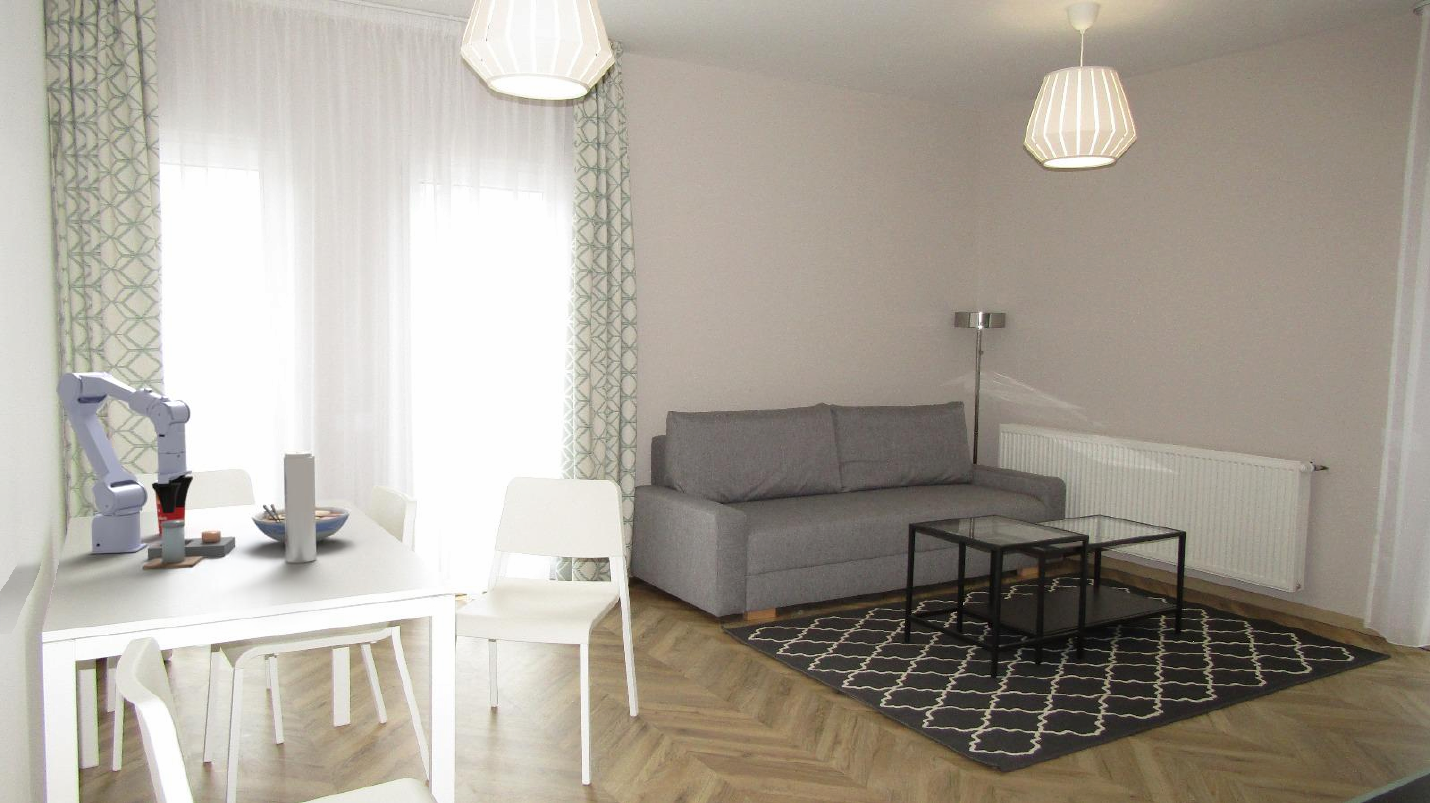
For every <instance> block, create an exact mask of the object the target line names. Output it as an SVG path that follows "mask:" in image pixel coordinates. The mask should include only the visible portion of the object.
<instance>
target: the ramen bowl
mask: <svg viewBox="0 0 1430 803" xmlns="http://www.w3.org/2000/svg"><path fill="white" fill-rule="evenodd" d="M262 507H263V509H264V511H262V512H257V513H255V514H253V515H252V516H251V519H252V522H253V523H254V525H255V526H256V527H257V528H258V529H259V530H260V532H261V533H262V534H264V535H265V536H267V537H268V538H270V539H272V540H274V541H279V542H281V543H285V507H280V508H275V507H276V506H275V505H274V504H270V508H271V509H269V507H268V506H267V505H266V504H263V505H262ZM351 512H352V509H350V508H346V507H341V506H332V505H315V517H316V544H317V543H319V542H321V540H324V539H326V538H329V537H331V536H332V535H335V534H336V533H337V532H339V531H340V530H341V529H342V527H343V526H344V525H345V523H346V522H347V520H348V518H349V516H350V514H351Z"/></svg>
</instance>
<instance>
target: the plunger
mask: <svg viewBox="0 0 1430 803" xmlns="http://www.w3.org/2000/svg"><path fill="white" fill-rule="evenodd" d="M221 535H222V532H221V530H207V531H206V530H205V531H203V532H201V538H202V542H216V541H220V540H221V537H222V536H221Z"/></svg>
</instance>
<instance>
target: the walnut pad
mask: <svg viewBox="0 0 1430 803" xmlns="http://www.w3.org/2000/svg"><path fill="white" fill-rule="evenodd" d="M203 560H204V557H203V556H197V557H185V561H183V562H178V563H163V562H162V558H154V559H150V561H148V562H147V563H146V564H144V565H142V570H153V569H155V570H156V569H175V568H176V569H177V568H179V569H180V568H194V566H196V565H198V563H200V562H201V561H203Z"/></svg>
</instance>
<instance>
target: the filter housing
mask: <svg viewBox="0 0 1430 803" xmlns="http://www.w3.org/2000/svg"><path fill="white" fill-rule="evenodd" d="M235 548H236V536H223V537H222V536H221V540H220V541H216V542H202V537H199V538H197V537H196V538H194V537H193V538H185V557H197V556H203V558H208V557H209V558H210V557H211V558H213V557H225V556H226V555H228V554H229V553H230V552H231V551H232V550H234V549H235ZM154 558H162V539H161V540H159V541H157V542H156V543H154V544H152V545H151V546H149V547H148V548H147V560H153V559H154Z"/></svg>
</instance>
